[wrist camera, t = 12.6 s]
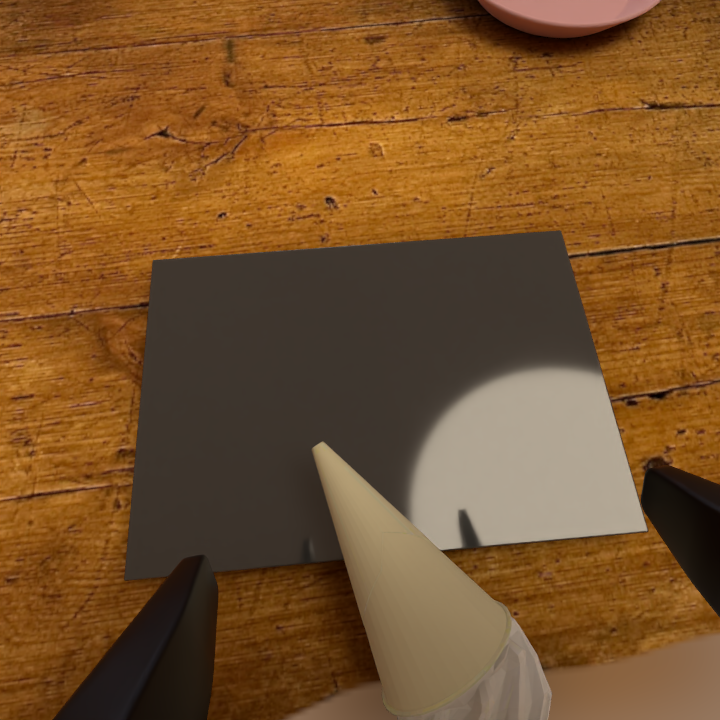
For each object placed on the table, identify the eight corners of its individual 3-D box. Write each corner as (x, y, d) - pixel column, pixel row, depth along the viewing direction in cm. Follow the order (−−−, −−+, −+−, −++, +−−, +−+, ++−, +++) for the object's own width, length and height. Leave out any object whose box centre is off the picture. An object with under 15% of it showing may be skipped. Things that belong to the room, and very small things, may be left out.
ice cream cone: (401, 389, 16) (669, 794, 14) (330, 439, 20) (536, 769, 18) (296, 452, 13) (635, 1006, 10) (233, 499, 16) (477, 921, 14)
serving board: (627, 532, 19) (649, 532, 17) (141, 577, 18) (123, 581, 17) (549, 247, 24) (561, 229, 22) (164, 276, 23) (152, 259, 22)
